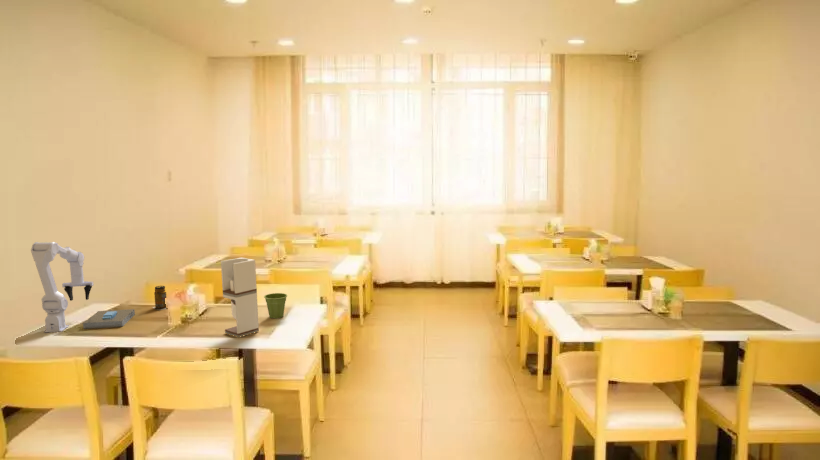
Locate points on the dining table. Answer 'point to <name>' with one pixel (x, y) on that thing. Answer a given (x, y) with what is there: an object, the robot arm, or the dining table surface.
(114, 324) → the chassis
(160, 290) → the condiment
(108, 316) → the servo
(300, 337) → the dining table surface
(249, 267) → the espresso maker
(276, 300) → the plant pot
